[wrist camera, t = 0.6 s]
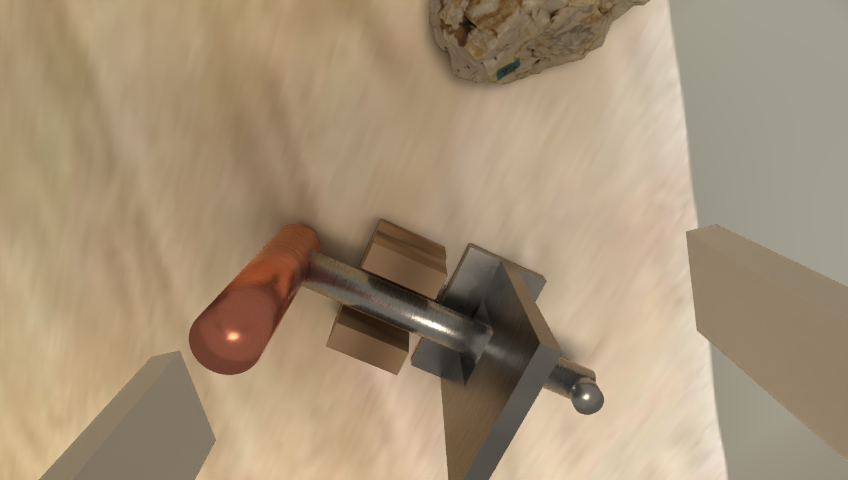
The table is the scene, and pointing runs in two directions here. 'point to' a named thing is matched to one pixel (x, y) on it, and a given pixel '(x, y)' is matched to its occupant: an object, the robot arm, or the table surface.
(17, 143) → the table surface
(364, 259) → the cradle
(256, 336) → the hook
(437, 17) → the rock
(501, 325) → the eye bracket
